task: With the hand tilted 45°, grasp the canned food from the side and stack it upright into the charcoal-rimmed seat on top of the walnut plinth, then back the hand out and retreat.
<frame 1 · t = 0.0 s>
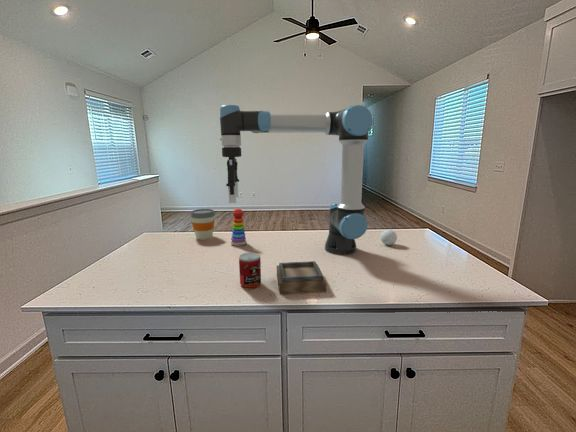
hand: (234, 200, 125), 28 cm above the countertop, tool pointing down, fingers open, 13 cm apart
ball: (388, 245, 155), on the countertop
plinth: (299, 282, 112), on the countertop
stacking toy: (238, 244, 158), on the countertop
reusable coffee cup: (204, 237, 171), on the countertop
canned food: (250, 284, 111), on the countertop
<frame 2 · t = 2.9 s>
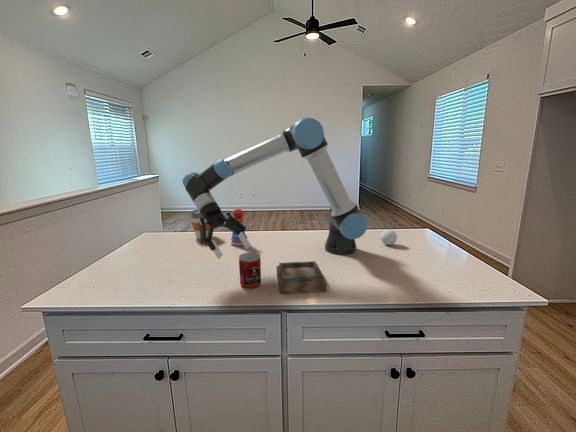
hand: (235, 251, 113), 11 cm above the countertop, tool tilted 45°, fingers open, 13 cm apart
nothing on the countertop moved.
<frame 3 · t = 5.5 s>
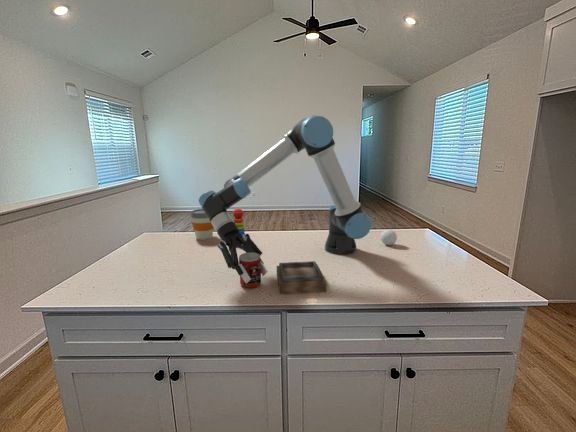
hand: (257, 277, 108), 4 cm above the countertop, tool tilted 45°, fingers closed on canned food, 8 cm apart
canned food: (250, 284, 111), on the countertop, touching gripper
everything else where it was.
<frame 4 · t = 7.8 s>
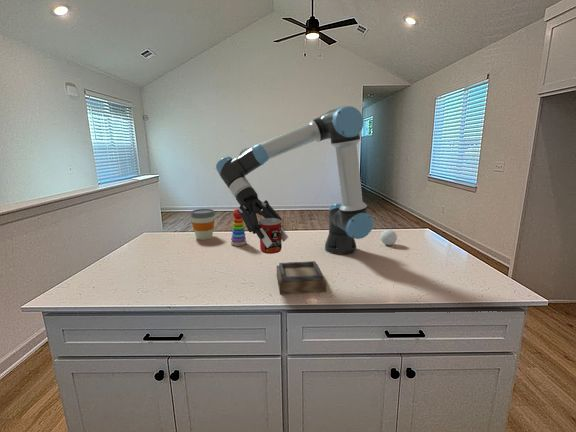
hand: (278, 242, 106), 17 cm above the countertop, tool tilted 45°, fingers closed on canned food, 8 cm apart
canned food: (271, 250, 109), point 13 cm above the countertop, touching gripper
everything else where it was.
when the fingers open (9 cm above the countertop, at t = 10.2 s): canned food drops 1 cm, resting on plinth.
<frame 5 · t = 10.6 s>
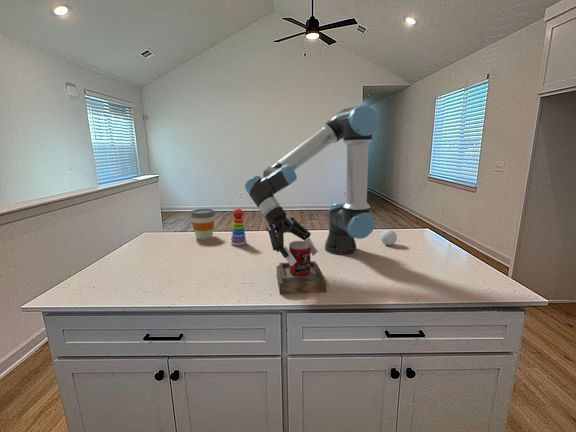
hand: (305, 258, 108), 10 cm above the countertop, tool tilted 45°, fingers open, 12 cm apart
canned food: (299, 273, 111), point 4 cm above the countertop, touching plinth
everything else where it was.
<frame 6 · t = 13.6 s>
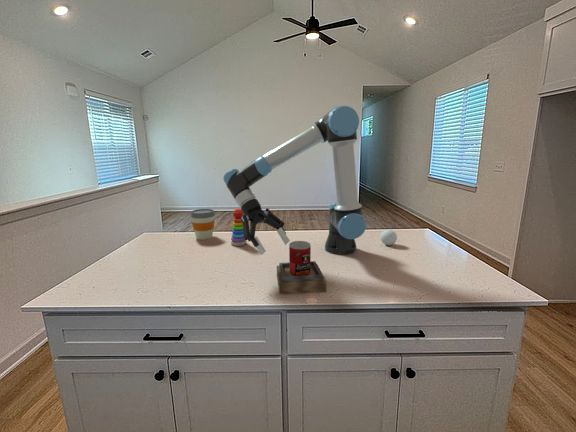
hand: (276, 247, 118), 11 cm above the countertop, tool tilted 40°, fingers open, 13 cm apart
nothing on the countertop moved.
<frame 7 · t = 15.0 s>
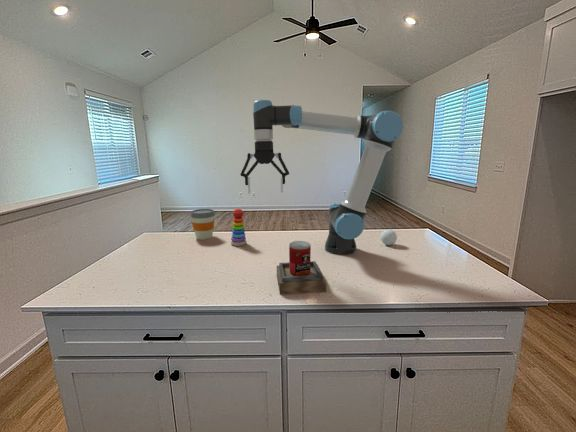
hand: (265, 192, 129), 30 cm above the countertop, tool pointing down, fingers open, 13 cm apart
nothing on the countertop moved.
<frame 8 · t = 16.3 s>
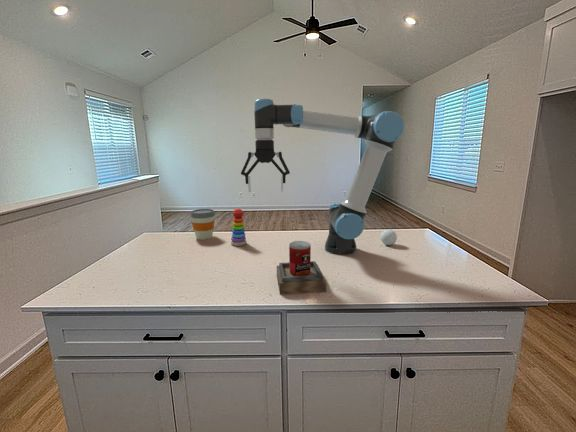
hand: (265, 191, 129), 31 cm above the countertop, tool pointing down, fingers open, 13 cm apart
nothing on the countertop moved.
at the end: canned food 0.1 cm off-centre on the plinth, point 3.8 cm above the plinth's base; canned food tilted 0°; the gripper is holding nothing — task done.
